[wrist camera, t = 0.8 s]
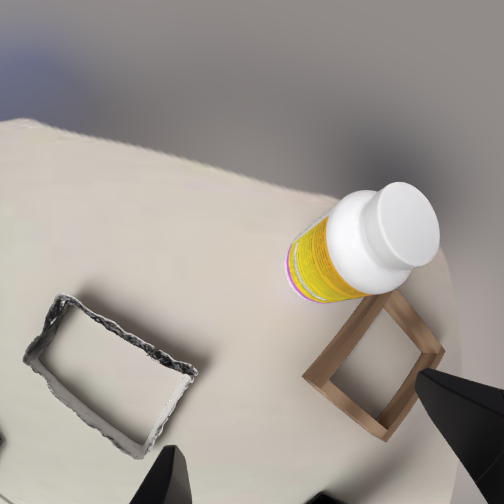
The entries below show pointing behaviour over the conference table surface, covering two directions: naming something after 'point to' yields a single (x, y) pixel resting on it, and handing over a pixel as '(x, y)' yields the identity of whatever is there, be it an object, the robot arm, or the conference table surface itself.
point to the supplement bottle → (363, 245)
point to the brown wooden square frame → (348, 340)
